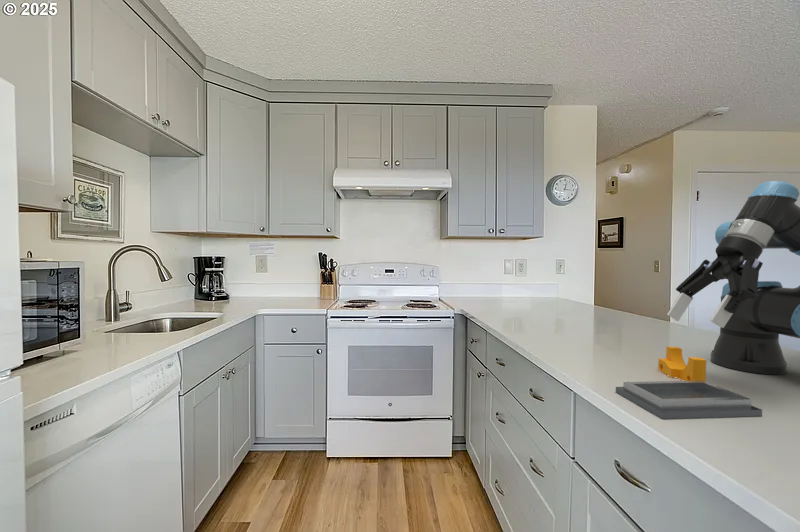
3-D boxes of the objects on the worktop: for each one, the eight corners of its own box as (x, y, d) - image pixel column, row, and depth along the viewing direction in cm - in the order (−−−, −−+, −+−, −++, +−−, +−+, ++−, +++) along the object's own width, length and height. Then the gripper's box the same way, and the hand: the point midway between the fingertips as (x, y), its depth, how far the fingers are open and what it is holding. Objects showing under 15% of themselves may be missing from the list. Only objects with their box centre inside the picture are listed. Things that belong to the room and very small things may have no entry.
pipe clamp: (658, 370, 97) (659, 345, 97) (676, 371, 96) (677, 346, 96) (683, 386, 85) (684, 358, 85) (705, 388, 84) (706, 360, 84)
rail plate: (700, 390, 83) (700, 378, 83) (761, 416, 70) (762, 402, 70) (615, 392, 81) (615, 380, 81) (662, 419, 68) (663, 404, 68)
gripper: (689, 240, 98) (645, 307, 98) (781, 226, 73) (722, 316, 73) (714, 255, 97) (670, 323, 97) (815, 247, 73) (756, 338, 72)
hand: (692, 320), depth 85 cm, fingers open, 13 cm apart
